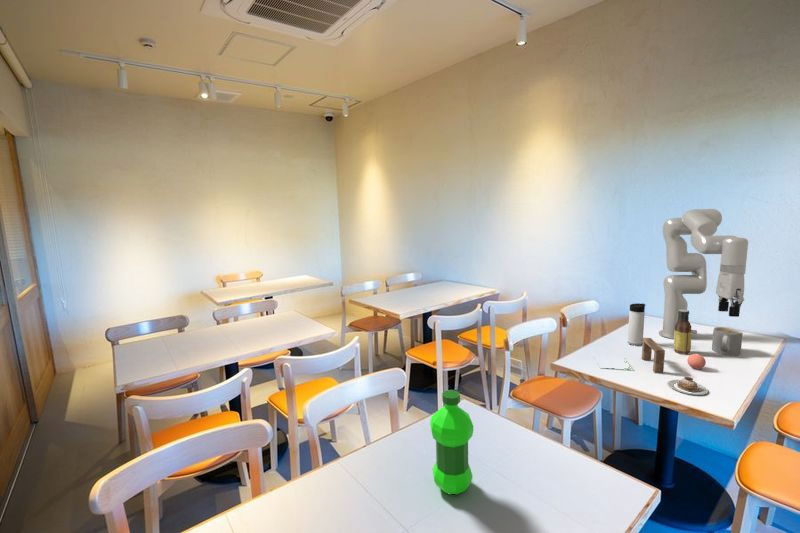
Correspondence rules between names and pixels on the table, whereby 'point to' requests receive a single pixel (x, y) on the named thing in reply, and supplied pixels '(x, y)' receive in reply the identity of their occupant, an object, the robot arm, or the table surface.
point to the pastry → (688, 386)
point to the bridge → (658, 354)
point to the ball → (696, 361)
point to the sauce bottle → (682, 333)
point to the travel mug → (636, 324)
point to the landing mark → (629, 366)
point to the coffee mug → (727, 341)
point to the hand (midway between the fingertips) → (728, 313)
